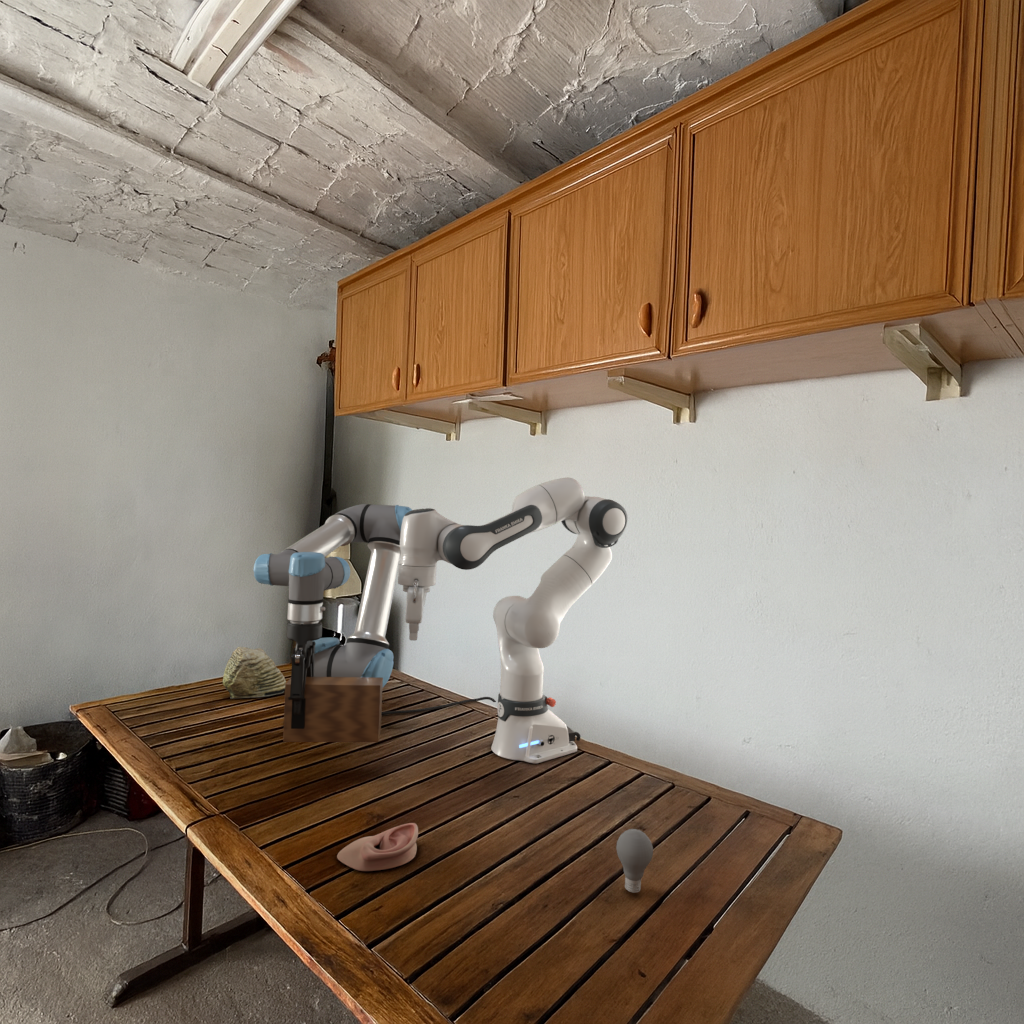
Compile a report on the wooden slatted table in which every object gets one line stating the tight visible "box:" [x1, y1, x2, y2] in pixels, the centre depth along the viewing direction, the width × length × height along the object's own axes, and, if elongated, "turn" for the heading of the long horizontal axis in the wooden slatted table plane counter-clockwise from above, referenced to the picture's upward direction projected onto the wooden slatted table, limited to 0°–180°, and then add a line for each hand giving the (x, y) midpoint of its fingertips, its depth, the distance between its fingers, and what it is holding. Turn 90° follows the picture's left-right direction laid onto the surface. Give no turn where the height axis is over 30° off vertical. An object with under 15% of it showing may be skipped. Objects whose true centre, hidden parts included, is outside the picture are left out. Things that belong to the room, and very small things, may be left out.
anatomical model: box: [336, 822, 419, 872], centre depth 113 cm, size 13×4×12 cm
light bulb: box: [615, 828, 654, 894], centre depth 106 cm, size 6×6×10 cm
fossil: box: [222, 646, 287, 699], centre depth 198 cm, size 9×18×15 cm, turn 132°
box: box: [282, 677, 384, 743], centre depth 144 cm, size 21×6×13 cm, turn 96°
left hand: (301, 722), depth 143 cm, fingers closed on box, 6 cm apart
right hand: (414, 635), depth 149 cm, fingers open, 8 cm apart
